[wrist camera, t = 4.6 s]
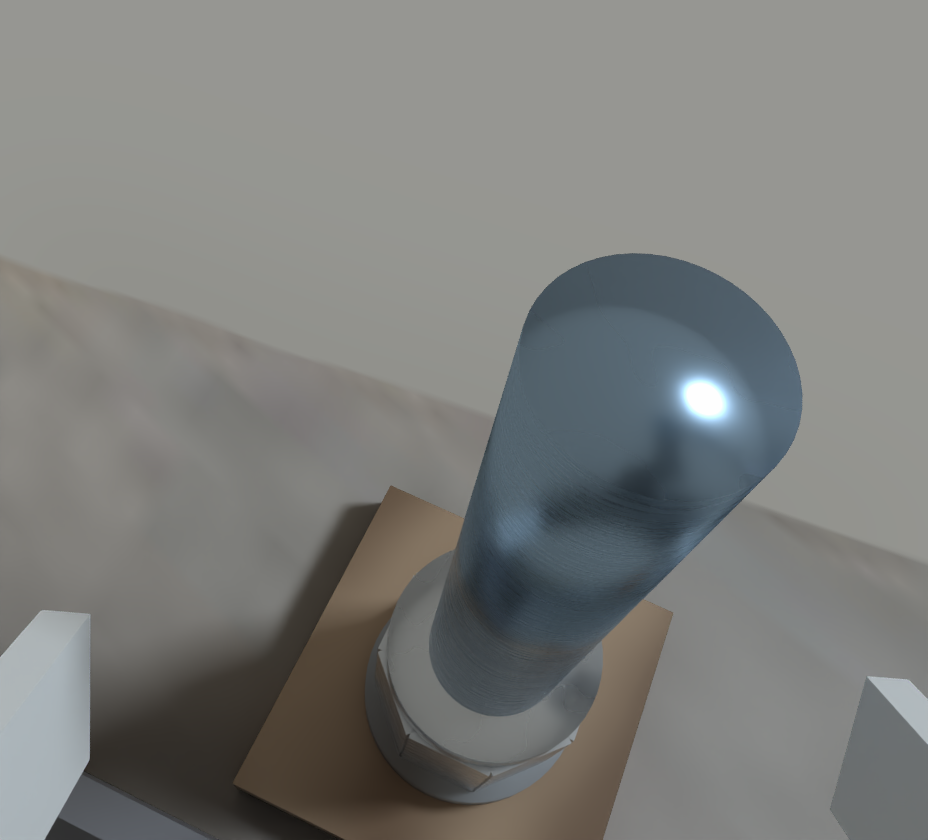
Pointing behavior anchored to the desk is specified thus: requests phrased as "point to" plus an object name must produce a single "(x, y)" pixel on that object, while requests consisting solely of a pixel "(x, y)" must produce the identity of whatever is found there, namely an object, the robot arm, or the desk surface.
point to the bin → (115, 816)
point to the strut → (583, 506)
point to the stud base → (369, 737)
